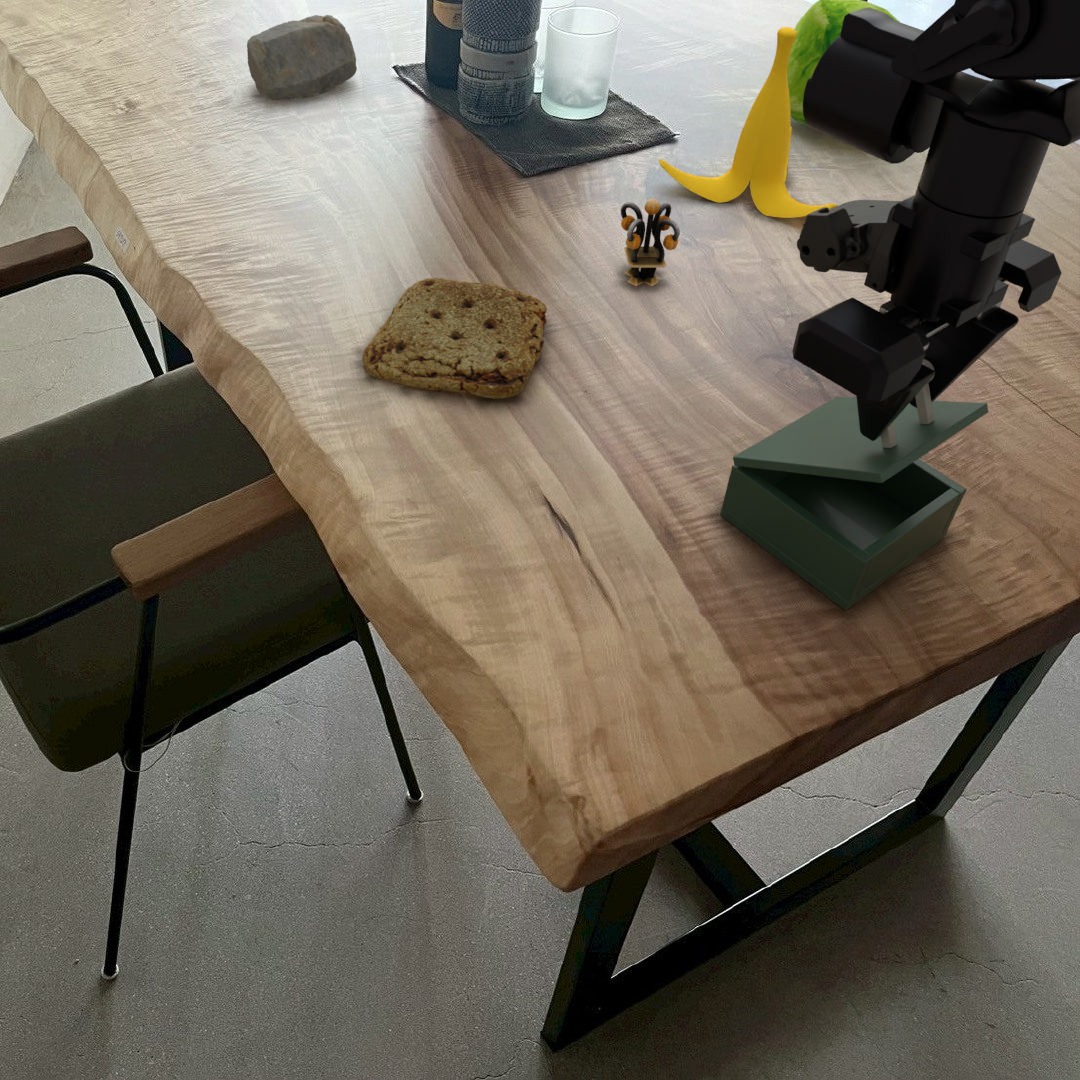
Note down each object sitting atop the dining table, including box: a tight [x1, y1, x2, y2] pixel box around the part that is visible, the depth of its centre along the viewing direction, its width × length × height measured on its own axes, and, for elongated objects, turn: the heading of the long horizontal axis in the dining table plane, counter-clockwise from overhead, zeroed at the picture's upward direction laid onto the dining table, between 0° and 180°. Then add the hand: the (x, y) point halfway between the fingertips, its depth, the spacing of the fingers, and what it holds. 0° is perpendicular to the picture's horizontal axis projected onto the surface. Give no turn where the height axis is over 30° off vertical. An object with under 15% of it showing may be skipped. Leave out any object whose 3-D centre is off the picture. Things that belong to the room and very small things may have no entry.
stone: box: [246, 14, 358, 102], centre depth 121 cm, size 12×8×8 cm, turn 125°
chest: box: [720, 458, 967, 611], centre depth 75 cm, size 12×12×5 cm
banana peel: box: [658, 26, 838, 219], centre depth 105 cm, size 17×19×17 cm
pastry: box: [361, 277, 548, 400], centre depth 88 cm, size 17×17×3 cm
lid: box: [732, 359, 989, 483], centre depth 70 cm, size 12×12×5 cm
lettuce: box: [787, 0, 900, 128], centre depth 121 cm, size 15×20×14 cm
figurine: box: [620, 198, 681, 287], centre depth 96 cm, size 5×5×8 cm
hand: (893, 421), depth 68 cm, fingers closed on lid, 5 cm apart
